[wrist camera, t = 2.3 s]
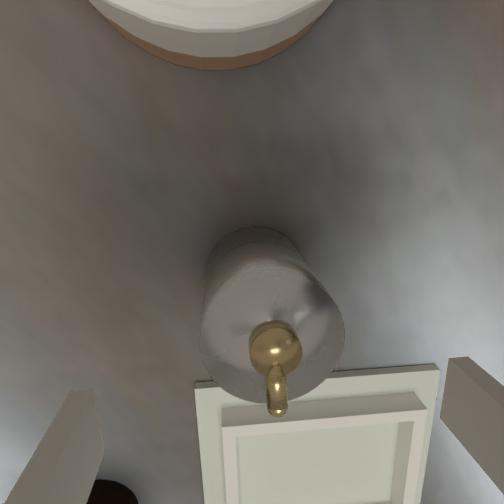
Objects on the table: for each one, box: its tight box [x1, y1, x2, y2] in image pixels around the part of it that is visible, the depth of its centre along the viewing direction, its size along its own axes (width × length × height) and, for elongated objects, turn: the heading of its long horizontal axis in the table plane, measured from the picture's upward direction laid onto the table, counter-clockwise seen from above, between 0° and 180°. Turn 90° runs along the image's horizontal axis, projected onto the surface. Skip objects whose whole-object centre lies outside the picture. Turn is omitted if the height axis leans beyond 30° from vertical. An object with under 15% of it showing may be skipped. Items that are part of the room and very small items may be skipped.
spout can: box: [200, 227, 345, 418], centre depth 21 cm, size 7×7×11 cm
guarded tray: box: [195, 364, 440, 504], centre depth 30 cm, size 20×17×3 cm
